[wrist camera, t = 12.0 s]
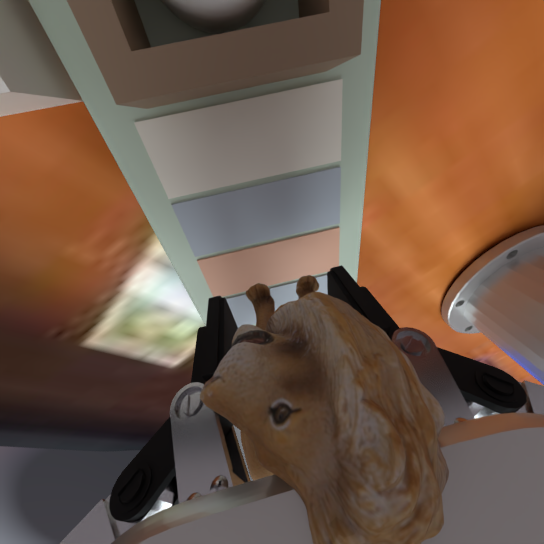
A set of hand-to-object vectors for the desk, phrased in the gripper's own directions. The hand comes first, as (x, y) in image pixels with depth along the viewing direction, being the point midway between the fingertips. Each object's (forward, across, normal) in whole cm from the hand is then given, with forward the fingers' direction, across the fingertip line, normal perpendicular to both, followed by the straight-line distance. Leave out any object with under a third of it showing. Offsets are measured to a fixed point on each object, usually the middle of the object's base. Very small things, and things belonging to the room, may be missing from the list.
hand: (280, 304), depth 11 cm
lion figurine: (+1, +1, +2) cm, 3 cm away
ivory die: (+5, +8, -12) cm, 15 cm away
